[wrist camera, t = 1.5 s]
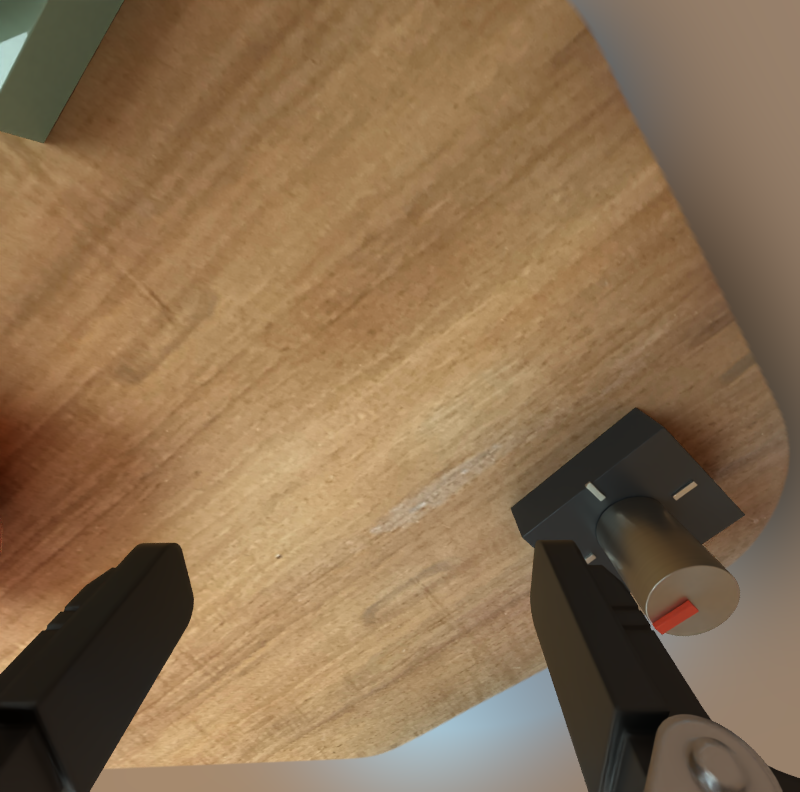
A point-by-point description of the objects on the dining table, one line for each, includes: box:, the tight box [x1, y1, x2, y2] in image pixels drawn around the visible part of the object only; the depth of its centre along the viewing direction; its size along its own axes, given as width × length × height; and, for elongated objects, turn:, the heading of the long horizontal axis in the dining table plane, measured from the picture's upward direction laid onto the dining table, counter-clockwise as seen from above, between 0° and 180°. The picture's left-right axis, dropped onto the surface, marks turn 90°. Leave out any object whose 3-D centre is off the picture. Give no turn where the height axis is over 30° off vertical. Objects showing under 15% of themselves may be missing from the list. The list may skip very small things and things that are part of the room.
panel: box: [511, 408, 745, 592], centre depth 26 cm, size 10×8×3 cm
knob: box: [596, 497, 740, 636], centre depth 22 cm, size 4×4×6 cm
